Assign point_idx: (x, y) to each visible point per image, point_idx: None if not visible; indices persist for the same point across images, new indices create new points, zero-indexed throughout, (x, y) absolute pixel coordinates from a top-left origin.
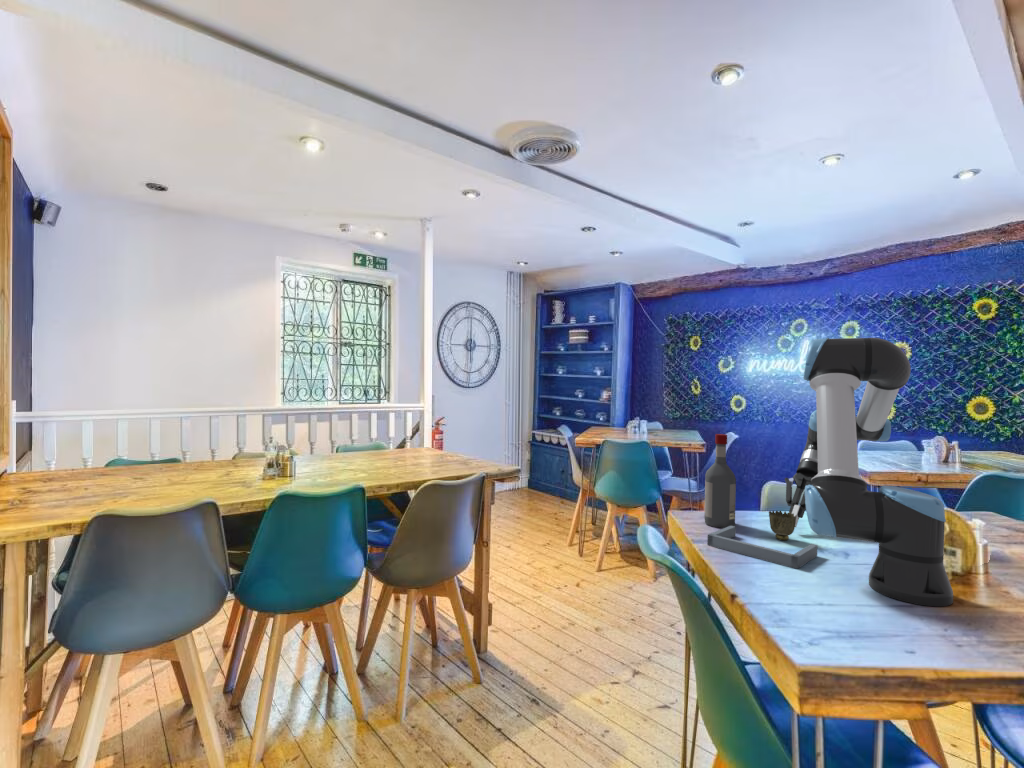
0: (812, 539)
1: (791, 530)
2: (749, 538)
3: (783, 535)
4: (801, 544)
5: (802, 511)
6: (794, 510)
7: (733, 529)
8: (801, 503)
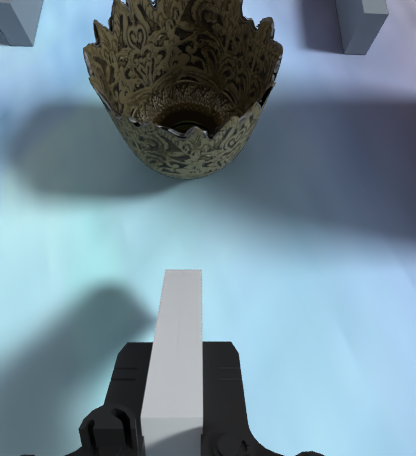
0: (69, 284)
1: (128, 98)
2: (292, 69)
3: (170, 113)
4: (95, 149)
5: (113, 383)
6: (185, 350)
7: (356, 5)
8: (109, 420)
